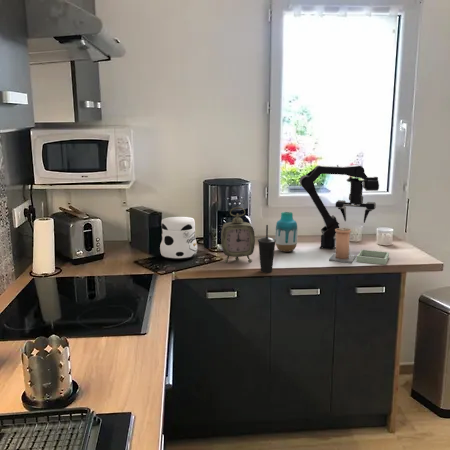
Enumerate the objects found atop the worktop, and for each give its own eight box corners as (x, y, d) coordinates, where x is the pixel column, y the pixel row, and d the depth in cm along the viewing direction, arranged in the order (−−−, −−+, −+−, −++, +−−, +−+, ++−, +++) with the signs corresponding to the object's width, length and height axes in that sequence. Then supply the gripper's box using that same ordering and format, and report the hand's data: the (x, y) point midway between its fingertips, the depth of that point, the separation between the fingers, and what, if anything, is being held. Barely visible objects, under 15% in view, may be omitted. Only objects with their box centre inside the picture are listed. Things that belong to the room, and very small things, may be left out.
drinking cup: (277, 269, 218) (278, 223, 214) (273, 274, 211) (273, 227, 207) (260, 267, 220) (260, 222, 216) (255, 272, 213) (255, 226, 209)
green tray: (356, 261, 229) (356, 256, 229) (361, 254, 240) (361, 249, 240) (385, 264, 224) (385, 259, 224) (388, 257, 235) (389, 252, 235)
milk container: (202, 259, 233) (202, 221, 229) (166, 264, 226) (165, 224, 223) (190, 251, 249) (189, 215, 245) (156, 254, 242) (154, 217, 238)
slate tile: (329, 260, 230) (329, 259, 230) (333, 255, 239) (333, 253, 239) (351, 263, 226) (351, 261, 226) (355, 257, 235) (355, 256, 235)
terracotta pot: (333, 258, 231) (333, 230, 229) (335, 254, 238) (336, 227, 235) (348, 259, 229) (349, 231, 226) (351, 256, 235) (352, 228, 233)
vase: (272, 252, 245) (273, 213, 241) (278, 247, 254) (279, 210, 250) (293, 254, 241) (294, 215, 237) (299, 249, 250) (300, 211, 246)
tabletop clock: (222, 264, 225) (222, 209, 220) (220, 259, 234) (220, 205, 229) (254, 263, 226) (255, 208, 221) (252, 258, 235) (252, 205, 230)
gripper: (378, 189, 252) (376, 220, 255) (340, 187, 259) (339, 217, 262) (375, 192, 242) (373, 224, 245) (335, 190, 249) (334, 221, 252)
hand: (354, 222), depth 251 cm, fingers open, 9 cm apart
